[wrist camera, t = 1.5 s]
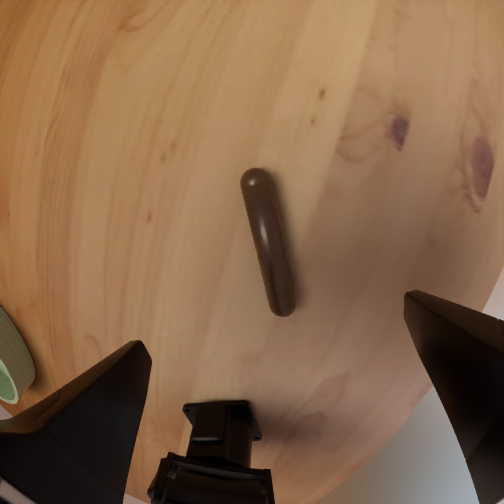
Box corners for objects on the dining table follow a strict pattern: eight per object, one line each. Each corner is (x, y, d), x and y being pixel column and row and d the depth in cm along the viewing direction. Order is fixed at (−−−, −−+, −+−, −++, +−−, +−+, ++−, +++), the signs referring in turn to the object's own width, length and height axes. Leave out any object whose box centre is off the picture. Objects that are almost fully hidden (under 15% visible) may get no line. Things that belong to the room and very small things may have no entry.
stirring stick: (296, 305, 20) (299, 319, 18) (271, 310, 20) (272, 324, 18) (267, 164, 17) (267, 165, 15) (238, 171, 17) (235, 172, 15)
